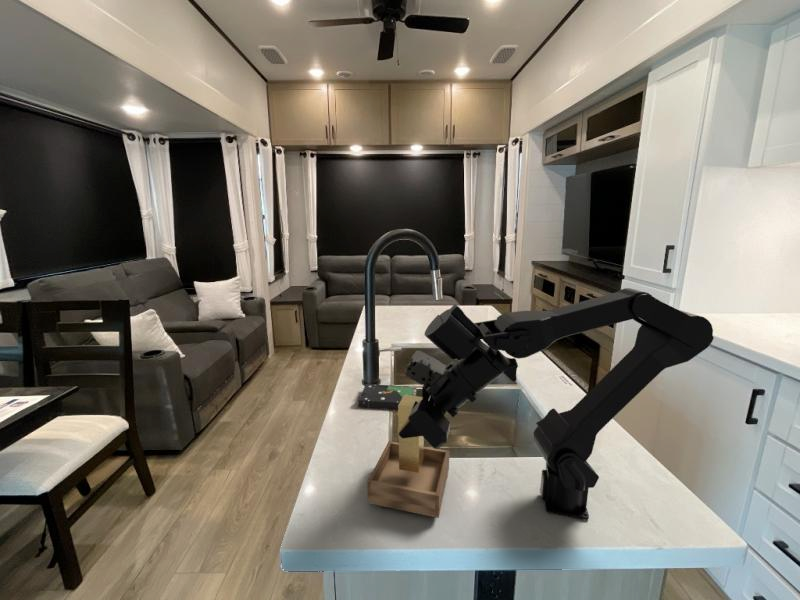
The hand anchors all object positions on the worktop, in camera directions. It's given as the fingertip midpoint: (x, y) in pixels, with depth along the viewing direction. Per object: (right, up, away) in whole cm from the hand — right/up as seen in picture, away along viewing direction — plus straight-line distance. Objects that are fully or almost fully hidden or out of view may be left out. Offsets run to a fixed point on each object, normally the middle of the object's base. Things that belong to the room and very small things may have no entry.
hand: (403, 428), depth 62 cm
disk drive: (-4, -6, +36) cm, 37 cm away
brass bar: (+1, -7, +1) cm, 7 cm away
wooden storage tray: (+1, -12, +2) cm, 12 cm away
